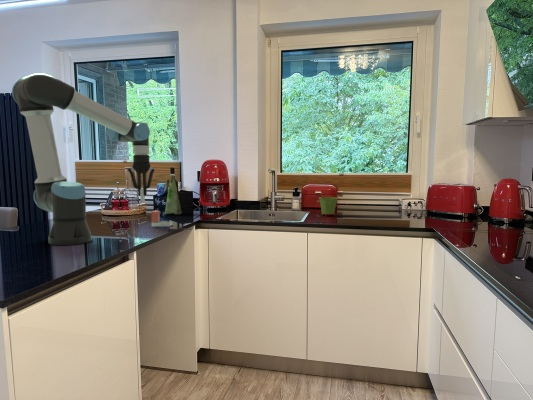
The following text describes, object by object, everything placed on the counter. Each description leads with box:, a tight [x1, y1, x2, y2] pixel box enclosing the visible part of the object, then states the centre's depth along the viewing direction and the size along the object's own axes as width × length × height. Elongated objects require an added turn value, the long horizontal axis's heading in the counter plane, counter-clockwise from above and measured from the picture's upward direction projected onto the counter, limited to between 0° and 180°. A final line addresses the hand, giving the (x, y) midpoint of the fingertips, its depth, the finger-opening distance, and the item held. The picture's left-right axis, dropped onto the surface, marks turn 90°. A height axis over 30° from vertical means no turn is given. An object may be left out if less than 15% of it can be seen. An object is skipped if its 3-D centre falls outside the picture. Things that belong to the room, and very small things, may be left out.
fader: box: [150, 210, 161, 223], centre depth 191 cm, size 5×3×5 cm, turn 5°
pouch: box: [164, 173, 182, 215], centre depth 235 cm, size 11×12×25 cm
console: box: [151, 220, 173, 228], centre depth 192 cm, size 5×9×2 cm, turn 95°
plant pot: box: [318, 196, 339, 215], centre depth 237 cm, size 12×12×11 cm
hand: (142, 202), depth 190 cm, fingers closed
